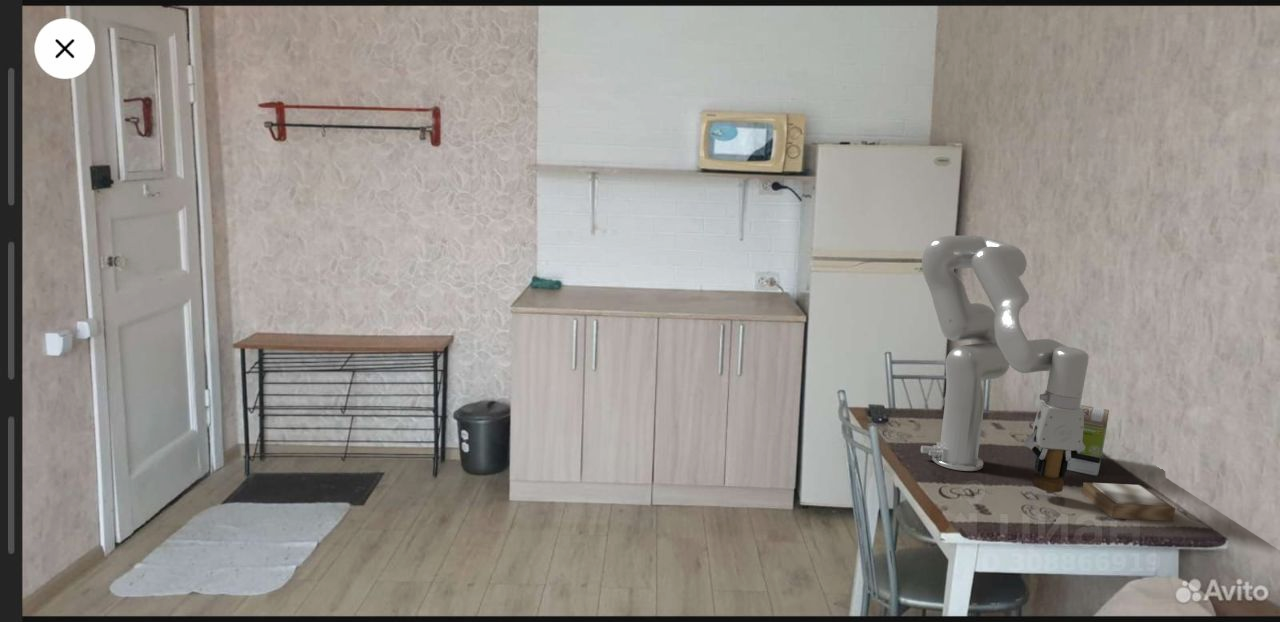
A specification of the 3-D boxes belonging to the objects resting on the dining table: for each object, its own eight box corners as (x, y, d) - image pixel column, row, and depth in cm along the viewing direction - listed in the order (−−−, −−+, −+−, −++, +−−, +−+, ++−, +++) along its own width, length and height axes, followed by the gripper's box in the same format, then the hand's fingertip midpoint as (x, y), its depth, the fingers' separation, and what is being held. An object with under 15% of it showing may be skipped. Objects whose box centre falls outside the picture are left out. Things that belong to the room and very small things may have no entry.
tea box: (1099, 477, 228) (1107, 421, 226) (1056, 468, 233) (1064, 414, 230) (1101, 460, 241) (1109, 408, 239) (1061, 452, 246) (1068, 401, 243)
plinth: (1111, 517, 202) (1113, 502, 201) (1081, 494, 215) (1083, 480, 215) (1173, 520, 202) (1175, 505, 201) (1139, 497, 216) (1141, 482, 215)
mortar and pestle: (1067, 493, 208) (1080, 420, 204) (1039, 491, 208) (1052, 418, 204) (1055, 482, 214) (1067, 411, 210) (1028, 480, 214) (1040, 409, 210)
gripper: (1033, 403, 203) (1020, 478, 207) (1106, 408, 203) (1092, 483, 207) (1020, 393, 210) (1007, 465, 214) (1090, 397, 210) (1077, 470, 214)
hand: (1049, 473), depth 210 cm, fingers closed on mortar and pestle, 4 cm apart
